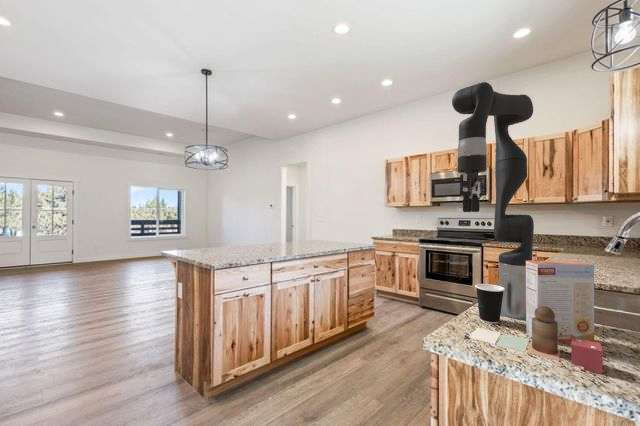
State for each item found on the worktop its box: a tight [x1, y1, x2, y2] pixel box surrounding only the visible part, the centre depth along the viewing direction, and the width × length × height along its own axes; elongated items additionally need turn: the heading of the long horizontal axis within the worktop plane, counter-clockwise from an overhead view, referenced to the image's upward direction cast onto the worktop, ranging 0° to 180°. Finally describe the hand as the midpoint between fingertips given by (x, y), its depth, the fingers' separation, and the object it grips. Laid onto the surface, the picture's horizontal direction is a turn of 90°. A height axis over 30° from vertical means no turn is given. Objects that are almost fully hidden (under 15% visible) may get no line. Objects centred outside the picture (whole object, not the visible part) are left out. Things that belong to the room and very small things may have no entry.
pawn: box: [531, 306, 559, 354], centre depth 73 cm, size 5×5×10 cm
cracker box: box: [525, 260, 595, 343], centre depth 81 cm, size 14×6×21 cm, turn 85°
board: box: [468, 327, 562, 361], centre depth 77 cm, size 11×20×1 cm, turn 50°
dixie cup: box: [475, 283, 505, 325], centre depth 92 cm, size 8×8×11 cm
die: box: [570, 337, 604, 375], centre depth 67 cm, size 5×5×5 cm
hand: (471, 212), depth 86 cm, fingers open, 8 cm apart
